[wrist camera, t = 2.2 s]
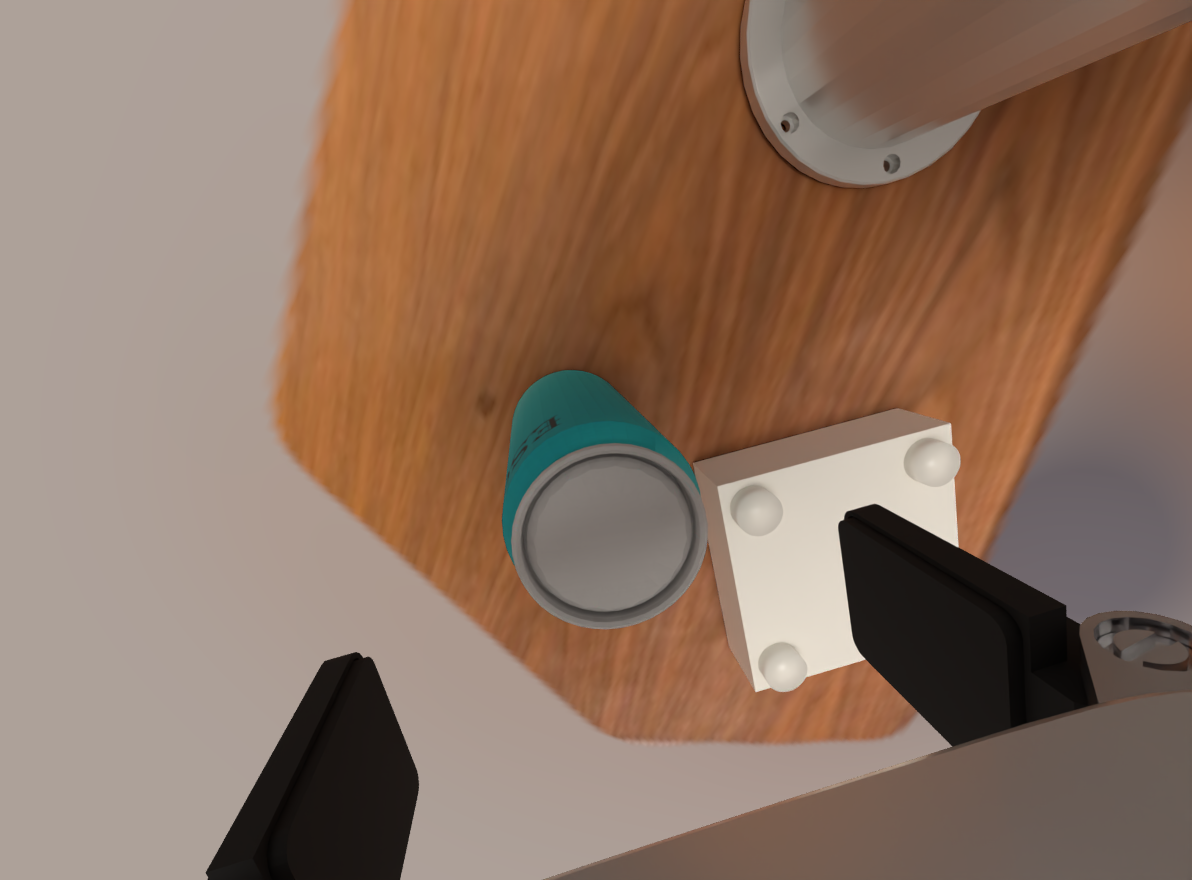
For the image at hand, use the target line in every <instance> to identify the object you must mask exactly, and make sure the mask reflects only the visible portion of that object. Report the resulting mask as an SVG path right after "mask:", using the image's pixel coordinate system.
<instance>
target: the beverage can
mask: <svg viewBox="0 0 1192 880" xmlns="http://www.w3.org/2000/svg"><path fill="white" fill-rule="evenodd" d="M502 526H503V536H504V540H505V544H506V548H507V551H508V553H509V555H510V557H511V560H512V562H513V564H514V565H515V567H516V570H517V573H518V575H519V577H520V579H521V581H522V583H523V585H524V586H525V588H526V589H527V591H528V592H529V594H530V595H531V596H532V598H533V599H534V600H535V601H536V602H537V603H538V604H539V605H540V606H541V607H543V608H544V609H545V610H547V611H548V612H549V613H551V614H552V615H554V616H556V617H558V618H559V619H561V620H563V621H565V622H568V623H571V624H574V625H577V626H581V627H587V628H592V629H614V628H623V627H627V626H631V625H635V624H638V623H641V622H643V621H646V620H648V619H651V618H652V617H654V616H656V615H658V614H659V613H661V612H663V611H664V610H666V609H667V608H668V607H670V606H671V605H672V604H673V603H675V602H676V601H677V600H678V599H679V598H680V597H681V596H682V595H683V594H684V593H685V591H686V590H687V589H688V587H689V586H690V585H691V583H692V582H693V581H694V579H695V577H696V575H697V573H698V571H699V569H700V567H701V564H702V562H703V559H704V556H705V552H706V546H707V541H708V524H707V518H706V511H705V508H704V505H703V502H702V499H701V494H700V489H699V486H698V483H697V480H696V477H695V475H694V473H693V471H692V469H691V467H690V465H689V463H688V462H687V461H686V459H685V458H684V457H683V455H682V454H681V453H680V452H679V450H677V449H676V448H675V447H674V446H673V445H672V444H671V443H670V442H669V441H668V440H667V439H666V438H665V437H664V436H663V435H662V434H661V433H660V432H659V431H658V430H657V429H656V428H655V427H654V426H653V425H652V424H651V423H650V422H649V421H647V420H646V419H645V418H644V417H643V416H642V415H641V414H640V413H639V412H638V411H637V410H636V409H635V408H634V407H633V406H632V405H631V404H630V403H629V402H628V401H627V400H626V399H625V398H624V397H623V396H622V395H621V394H620V393H619V392H618V391H616V390H615V389H614V388H613V387H612V386H611V385H610V384H609V383H608V382H606V381H605V380H603V379H602V378H600V377H598V376H596V375H594V374H592V373H588V372H584V371H578V370H563V371H559V372H554V373H552V374H549V375H546V376H544V377H543V378H541V379H539V380H538V381H536V382H535V383H534V384H533V385H531V386H530V387H529V388H528V389H527V391H526V392H525V393H524V394H523V396H522V397H521V399H520V400H519V402H518V404H517V407H516V409H515V412H514V416H513V421H512V430H511V439H510V448H509V457H508V467H507V476H506V485H505V494H504V503H503V514H502Z"/></svg>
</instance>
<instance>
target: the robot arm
mask: <svg viewBox="0 0 1192 880" xmlns="http://www.w3.org/2000/svg"><path fill="white" fill-rule="evenodd" d="M1190 21H1192V0H745V5H744V10H743V16H742V21H741V31H740V60H741V67H742V74H743V81H744V87H745V90H746V93H747V96H748V99H749V102H750V106H751V109H752V112H753V114H754V116H755V118H756V120H757V121H758V123H759V125H760V127H761V129H762V131H763V133H764V135H765V136H766V138H767V139H768V140H769V141H770V143H771V144H772V145H773V146H774V148H775V149H776V150H777V151H778V153H779V154H780V155H781V156H782V157H783V158H784V159H786V160H787V161H788V162H789V163H790V164H792V165H793V166H794V167H795V168H797V169H798V170H799V171H801V172H802V173H804V174H806V175H808V176H810V177H812V178H814V179H816V180H818V181H820V182H823V183H827V184H831V185H835V186H839V187H845V188H868V187H874V186H879V185H884V184H889V183H891V182H894V181H897V180H900V179H903V178H906V177H909V176H911V175H913V174H915V173H917V172H919V171H921V170H922V169H924V168H926V167H928V166H930V165H932V164H933V163H934V162H935V161H937V160H938V159H939V158H940V157H942V156H943V155H944V154H946V153H947V152H948V151H949V150H951V149H952V148H953V146H954V145H955V144H956V143H957V142H958V141H959V140H960V139H961V138H962V136H963V135H964V134H965V133H966V132H967V131H968V130H969V129H970V127H971V125H972V124H973V122H974V121H975V119H976V118H977V116H978V115H979V113H980V111H981V110H982V109H984V108H986V107H989V106H991V105H994V104H996V103H998V102H1001V101H1003V100H1005V99H1008V98H1010V97H1012V96H1015V95H1017V94H1020V93H1022V92H1024V91H1027V90H1029V89H1031V88H1034V87H1036V86H1038V85H1041V84H1043V83H1046V82H1048V81H1050V80H1053V79H1055V78H1057V77H1060V76H1062V75H1064V74H1067V73H1069V72H1072V71H1074V70H1076V69H1079V68H1081V67H1083V66H1086V65H1088V64H1090V63H1093V62H1095V61H1098V60H1100V59H1102V58H1105V57H1107V56H1109V55H1112V54H1114V53H1116V52H1119V51H1121V50H1124V49H1126V48H1128V47H1131V46H1133V45H1135V44H1138V43H1140V42H1142V41H1145V40H1147V39H1150V38H1152V37H1154V36H1157V35H1159V34H1161V33H1164V32H1166V31H1168V30H1171V29H1173V28H1176V27H1178V26H1180V25H1183V24H1185V23H1187V22H1190ZM781 123H782V124H784V125H785V127H786V132H785V131H783V129H782V127H781ZM883 166H884V167H883ZM838 532H839V540H840V547H841V555H842V562H843V570H844V578H845V585H846V593H847V600H848V608H849V615H850V623H851V630H852V637H853V640H854V643H855V645H856V647H857V649H858V651H859V652H860V654H861V655H862V656H863V657H864V658H865V659H866V660H867V661H868V662H869V663H870V664H871V665H872V666H873V667H874V668H875V669H876V670H877V671H878V672H879V673H880V674H881V675H882V676H883V677H884V678H885V679H886V680H887V681H888V682H889V683H890V684H891V685H892V686H893V687H894V688H895V689H896V690H897V691H898V692H899V693H900V694H901V695H902V696H903V697H904V698H905V699H906V700H907V701H908V702H909V703H910V704H911V705H912V706H913V707H914V708H915V709H916V710H917V711H918V712H919V713H920V714H921V715H922V716H923V717H924V718H925V719H926V720H927V721H928V722H929V723H930V724H931V725H932V726H933V727H934V728H935V729H936V730H937V731H938V732H939V733H940V734H941V735H942V736H943V737H944V738H945V739H946V740H947V741H948V742H949V743H950V744H951V746H952V747H950V748H947V749H944V750H941V751H938V752H935V753H931V754H928V755H926V756H922V757H919V758H916V759H913V760H909V761H906V762H903V763H900V764H897V765H894V766H891V767H888V768H885V769H881V770H878V771H875V772H872V773H869V774H866V775H863V776H860V777H856V778H853V779H850V780H847V781H844V782H840V783H837V784H835V785H831V786H828V787H825V788H822V789H818V790H815V791H812V792H809V793H806V794H803V795H800V796H797V797H793V798H791V799H787V800H784V801H781V802H778V803H775V804H772V805H769V806H766V807H763V808H760V809H757V810H753V811H750V812H747V813H744V814H741V815H738V816H735V817H732V818H729V819H726V820H723V821H720V822H716V823H713V824H710V825H707V826H705V827H701V828H698V829H695V830H692V831H689V832H686V833H683V834H680V835H677V836H674V837H671V838H668V839H664V840H662V841H658V842H655V843H653V844H649V845H646V846H643V847H640V848H637V849H634V850H631V851H628V852H625V853H622V854H619V855H616V856H612V857H609V858H607V859H603V860H600V861H597V862H594V863H591V864H588V865H586V866H582V867H579V868H576V869H573V870H570V871H567V872H564V873H561V874H558V875H556V876H552V877H549V878H546V879H543V880H1192V626H1191V625H1189V624H1186V623H1184V622H1181V621H1179V620H1175V619H1172V618H1168V617H1165V616H1161V615H1157V614H1150V613H1144V612H1137V611H1111V612H1104V613H1098V614H1096V615H1093V616H1091V617H1088V618H1086V620H1085V621H1084V622H1083V623H1082V624H1079V623H1077V622H1075V621H1073V620H1072V619H1070V618H1068V617H1066V605H1064V604H1062V603H1060V602H1058V601H1057V600H1055V599H1053V598H1051V597H1049V596H1047V595H1046V594H1044V593H1042V592H1040V591H1038V590H1036V589H1034V588H1032V587H1031V586H1028V585H1027V584H1025V583H1023V582H1021V581H1020V580H1018V579H1016V578H1014V577H1012V576H1010V575H1008V574H1007V573H1005V572H1003V571H1001V570H999V569H997V568H995V567H994V566H991V565H990V564H988V563H986V562H984V561H982V560H981V559H979V558H977V557H975V556H973V555H971V554H969V553H968V552H966V551H964V550H962V549H960V548H958V547H956V546H955V545H953V544H951V543H949V542H947V541H945V540H943V539H941V538H940V537H938V536H936V535H934V534H932V533H930V532H928V531H927V530H925V529H923V528H921V527H919V526H917V525H915V524H914V523H912V522H910V521H908V520H906V519H904V518H902V517H901V516H899V515H897V514H895V513H893V512H891V511H889V510H888V509H886V508H884V507H882V506H880V505H878V504H871V505H868V506H864V507H861V508H857V509H854V510H850V511H847V512H846V513H845V516H844V520H842V521H840V522H839V524H838ZM418 790H419V780H418V773H417V770H416V767H415V764H414V762H413V759H412V757H411V754H410V752H409V749H408V746H407V744H406V741H405V739H404V736H403V734H402V731H401V729H400V726H399V724H398V722H397V719H396V716H395V714H394V711H393V709H392V706H391V704H390V701H389V699H388V696H387V694H386V691H385V689H384V687H383V684H382V681H381V679H380V676H379V673H378V671H377V668H376V666H375V664H374V662H373V660H372V659H371V658H370V657H366V658H363V657H362V656H361V655H360V653H357V652H355V653H351V654H348V655H344V656H341V657H337V658H334V659H330V660H327V661H324V663H323V664H322V665H321V667H320V669H319V670H318V672H317V674H316V676H315V678H314V680H313V681H312V683H311V685H310V687H309V688H308V690H307V692H306V694H305V696H304V698H303V699H302V701H301V703H300V705H299V707H298V708H297V710H296V712H295V713H294V716H293V718H292V719H291V721H290V722H289V724H288V726H287V728H286V730H285V732H284V733H283V735H282V737H281V739H280V740H279V742H278V744H277V746H276V748H275V749H274V751H273V753H272V755H271V757H270V758H269V760H268V762H267V764H266V766H265V767H264V769H263V771H262V773H261V774H260V776H259V778H258V780H257V782H256V784H255V785H254V787H253V789H252V791H251V793H250V794H249V796H248V798H247V800H246V801H245V803H244V805H243V807H242V809H241V810H240V812H239V814H238V816H237V818H236V819H235V821H234V823H233V825H232V827H231V828H230V830H229V832H228V834H227V835H226V837H225V839H224V841H223V843H222V845H221V846H220V848H219V850H218V852H217V854H216V855H215V857H214V859H213V861H212V862H211V864H210V866H209V868H208V869H207V871H206V874H207V876H208V880H400V877H401V872H402V868H403V863H404V859H405V854H406V849H407V844H408V839H409V834H410V830H411V825H412V820H413V815H414V810H415V806H416V801H417V796H418Z"/></svg>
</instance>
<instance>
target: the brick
mask: <svg viewBox="0 0 1192 880" xmlns="http://www.w3.org/2000/svg"><path fill="white" fill-rule="evenodd" d="M693 467H694V472H695V477H696V480H697V483H698V486H699V489H700V494H701V499H702V502H703V505H704V508H705V511H706V518H707V524H708V543H709V548H710V553H711V558H712V563H713V568H714V573H715V579H716V584H717V589H718V594H719V599H720V604H721V609H722V614H723V619H724V624H725V629H726V634H727V639H728V645H729V648H730V649H731V651H732V653H733V655H734V656H735V658H736V660H737V661H738V663H739V665H740V666H741V668H742V670H743V671H744V673H745V675H746V677H747V678H748V680H749V682H750V683H751V685H752V687H753V688H754V690H755V692H758V691H761V690H764V689H768V688H772V689H774V690H776V691H779V692H787V691H791V690H793V689H795V688H797V687H798V686H800V685H801V684H802V682H803V681H804V680H805V678H806V677H808V676H812V675H815V674H818V673H822V672H825V671H829V670H832V669H835V668H839V667H842V666H846V665H849V664H852V663H856V662H859V661H862V660H866V659H865V658H864V657H863V656H862V655H861V654H860V652H859V651H858V649H857V647H856V645H855V643H854V640H853V637H852V630H851V623H850V615H849V608H848V600H847V593H846V585H845V578H844V570H843V562H842V555H841V547H840V540H839V532H838V524H839V522H840V521H842V520H844V516H845V513H846V512H847V511H850V510H854V509H857V508H861V507H864V506H868V505H871V504H878V505H880V506H882V507H884V508H886V509H888V510H889V511H891V512H893V513H895V514H897V515H899V516H901V517H902V518H904V519H906V520H908V521H910V522H912V523H914V524H915V525H917V526H919V527H921V528H923V529H925V530H927V531H928V532H930V533H932V534H934V535H936V536H938V537H940V538H941V539H943V540H945V541H947V542H949V543H951V544H953V545H955V546H956V547H958V531H957V515H956V499H955V483H954V477H955V476H956V474H957V472H958V470H959V467H960V454H959V452H958V450H957V449H956V448H955V447H954V446H953V445H952V434H951V423H948V422H945V421H941V420H938V419H934V418H931V417H927V416H924V415H920V414H917V413H913V412H910V411H906V410H903V409H899V408H896V409H892V410H888V411H885V412H881V413H877V414H874V415H870V416H866V417H862V418H859V419H855V420H851V421H847V422H844V423H840V424H836V425H832V426H829V427H825V428H821V429H817V430H814V431H810V432H806V433H803V434H799V435H795V436H791V437H788V438H784V439H780V440H776V441H773V442H769V443H765V444H761V445H758V446H754V447H750V448H746V449H743V450H739V451H735V452H732V453H728V454H724V455H720V456H717V457H713V458H709V459H705V460H702V461H698V462H694V463H693Z"/></svg>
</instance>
